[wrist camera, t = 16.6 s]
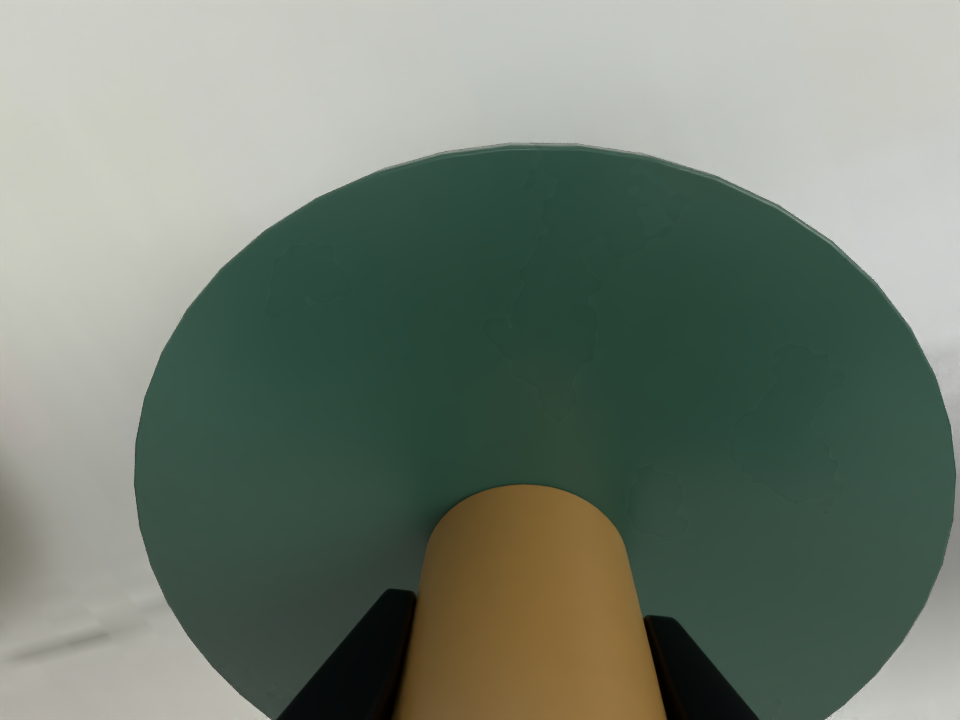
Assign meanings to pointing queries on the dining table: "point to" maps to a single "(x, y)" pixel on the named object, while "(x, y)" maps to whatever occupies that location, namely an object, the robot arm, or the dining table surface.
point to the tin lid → (546, 442)
